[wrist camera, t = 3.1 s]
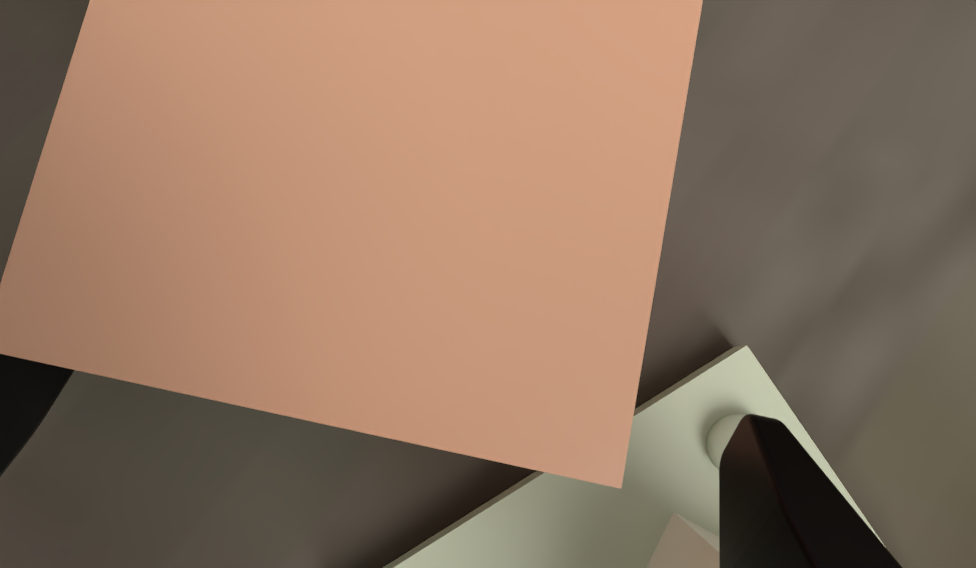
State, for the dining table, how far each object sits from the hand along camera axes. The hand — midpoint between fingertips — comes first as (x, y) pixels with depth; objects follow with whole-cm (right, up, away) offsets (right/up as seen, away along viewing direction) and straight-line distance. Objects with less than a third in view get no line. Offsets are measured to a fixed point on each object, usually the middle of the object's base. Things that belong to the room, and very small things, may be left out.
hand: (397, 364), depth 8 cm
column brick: (+1, +1, +10) cm, 10 cm away
